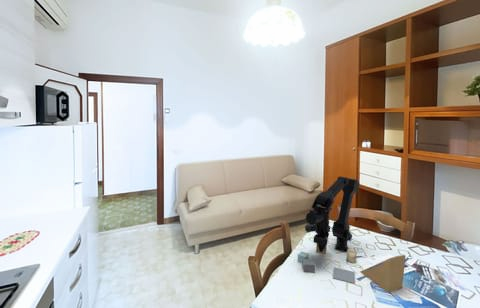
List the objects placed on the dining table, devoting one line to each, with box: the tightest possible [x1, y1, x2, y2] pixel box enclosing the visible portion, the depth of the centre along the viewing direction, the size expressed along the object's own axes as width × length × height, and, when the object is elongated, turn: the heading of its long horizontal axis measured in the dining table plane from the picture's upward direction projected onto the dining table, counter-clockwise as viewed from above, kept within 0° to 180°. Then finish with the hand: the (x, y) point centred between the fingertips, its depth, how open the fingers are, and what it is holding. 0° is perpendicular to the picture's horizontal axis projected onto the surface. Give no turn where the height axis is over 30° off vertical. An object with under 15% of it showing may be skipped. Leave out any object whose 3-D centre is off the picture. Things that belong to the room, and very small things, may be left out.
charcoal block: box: [301, 258, 316, 274], centre depth 118 cm, size 5×5×4 cm
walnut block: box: [315, 243, 328, 255], centre depth 126 cm, size 4×4×5 cm
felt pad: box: [332, 267, 356, 285], centre depth 113 cm, size 9×9×1 cm
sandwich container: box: [359, 254, 406, 293], centre depth 110 cm, size 9×15×15 cm, turn 19°
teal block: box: [297, 250, 310, 264], centre depth 125 cm, size 4×4×4 cm
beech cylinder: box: [346, 248, 357, 264], centre depth 126 cm, size 4×4×5 cm
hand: (321, 249), depth 126 cm, fingers closed on walnut block, 4 cm apart
